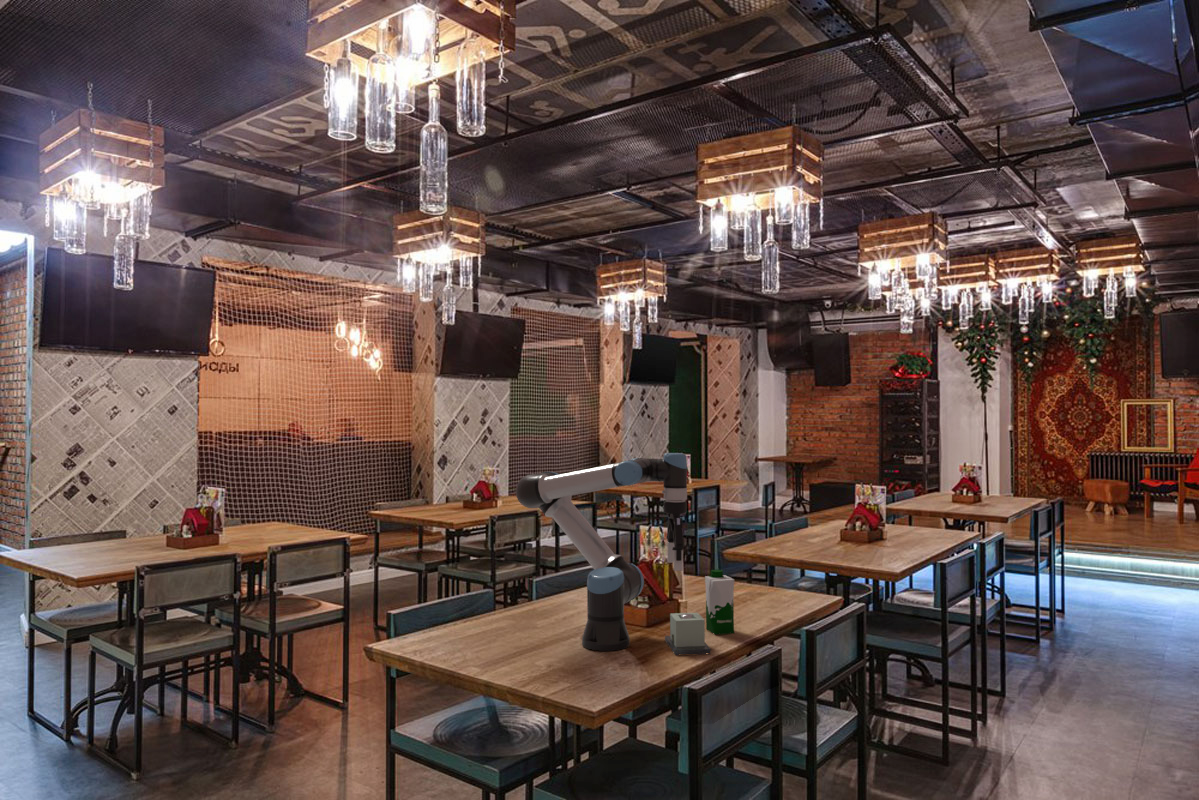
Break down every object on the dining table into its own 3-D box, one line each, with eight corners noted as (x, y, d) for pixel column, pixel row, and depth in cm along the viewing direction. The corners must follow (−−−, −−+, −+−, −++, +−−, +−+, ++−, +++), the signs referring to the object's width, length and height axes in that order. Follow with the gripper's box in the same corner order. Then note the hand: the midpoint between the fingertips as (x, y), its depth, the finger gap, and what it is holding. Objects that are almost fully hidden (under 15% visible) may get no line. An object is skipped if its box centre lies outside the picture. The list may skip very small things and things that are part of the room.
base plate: (675, 655, 237) (675, 622, 237) (664, 640, 253) (664, 609, 253) (710, 653, 238) (710, 620, 238) (698, 639, 254) (697, 608, 254)
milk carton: (726, 626, 269) (725, 568, 269) (737, 634, 260) (737, 573, 260) (702, 628, 266) (702, 570, 267) (713, 636, 258) (713, 575, 258)
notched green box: (676, 646, 240) (675, 620, 241) (670, 638, 249) (670, 613, 250) (704, 645, 241) (704, 619, 242) (697, 637, 250) (697, 612, 251)
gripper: (658, 496, 266) (658, 559, 266) (669, 505, 241) (669, 574, 241) (680, 496, 266) (680, 559, 266) (693, 505, 241) (693, 574, 241)
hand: (674, 566), depth 253 cm, fingers open, 13 cm apart
